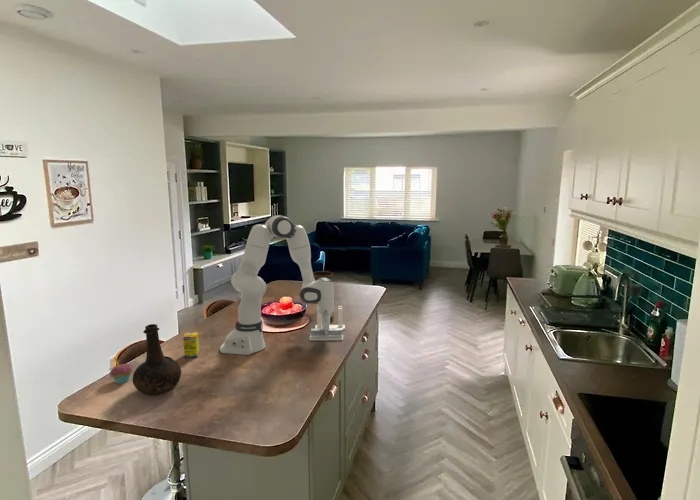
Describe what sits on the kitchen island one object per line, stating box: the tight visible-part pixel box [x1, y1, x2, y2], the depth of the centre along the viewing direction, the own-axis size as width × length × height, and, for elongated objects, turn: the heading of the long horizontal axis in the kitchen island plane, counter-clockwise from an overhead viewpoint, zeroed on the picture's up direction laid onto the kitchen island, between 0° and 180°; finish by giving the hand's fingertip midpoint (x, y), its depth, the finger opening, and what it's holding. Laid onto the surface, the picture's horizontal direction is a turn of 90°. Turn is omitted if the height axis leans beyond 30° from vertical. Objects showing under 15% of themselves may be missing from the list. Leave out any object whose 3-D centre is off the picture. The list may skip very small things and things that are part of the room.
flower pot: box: [330, 301, 337, 319], centre depth 258 cm, size 9×9×9 cm
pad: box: [309, 333, 344, 341], centre depth 225 cm, size 18×8×1 cm, turn 91°
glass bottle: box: [132, 323, 182, 396], centre depth 169 cm, size 18×18×28 cm
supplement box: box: [182, 331, 200, 359], centre depth 203 cm, size 6×6×11 cm
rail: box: [310, 327, 344, 337], centre depth 225 cm, size 17×3×3 cm, turn 91°
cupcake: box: [109, 357, 134, 385], centre depth 178 cm, size 9×8×12 cm
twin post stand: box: [314, 305, 346, 331], centre depth 238 cm, size 17×6×12 cm, turn 91°
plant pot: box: [313, 270, 334, 282], centre depth 304 cm, size 15×15×16 cm
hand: (326, 332), depth 225 cm, fingers closed on rail, 3 cm apart
